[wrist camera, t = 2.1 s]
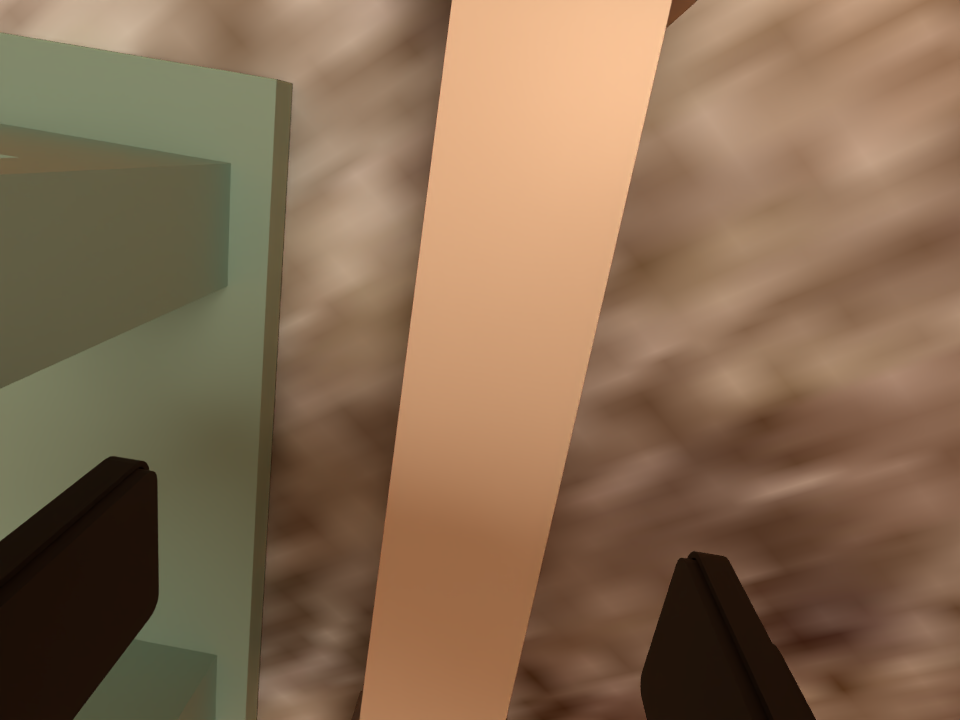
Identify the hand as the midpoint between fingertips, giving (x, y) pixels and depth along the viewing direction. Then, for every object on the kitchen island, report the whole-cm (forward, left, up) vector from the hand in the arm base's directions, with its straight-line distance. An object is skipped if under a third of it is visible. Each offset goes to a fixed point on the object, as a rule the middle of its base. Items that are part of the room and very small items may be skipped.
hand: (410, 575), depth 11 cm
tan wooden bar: (-1, 0, -7) cm, 7 cm away
